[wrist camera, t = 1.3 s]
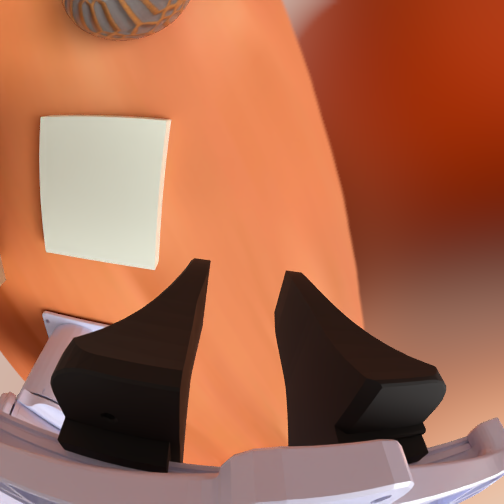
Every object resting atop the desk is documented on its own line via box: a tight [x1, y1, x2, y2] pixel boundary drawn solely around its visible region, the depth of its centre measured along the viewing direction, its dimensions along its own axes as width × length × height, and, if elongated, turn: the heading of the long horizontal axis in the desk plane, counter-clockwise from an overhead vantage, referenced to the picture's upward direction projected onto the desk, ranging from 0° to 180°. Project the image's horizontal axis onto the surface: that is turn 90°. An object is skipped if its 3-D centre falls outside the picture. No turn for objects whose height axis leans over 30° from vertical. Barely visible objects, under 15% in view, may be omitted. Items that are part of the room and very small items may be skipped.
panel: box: [39, 115, 171, 270], centre depth 19 cm, size 10×9×2 cm
